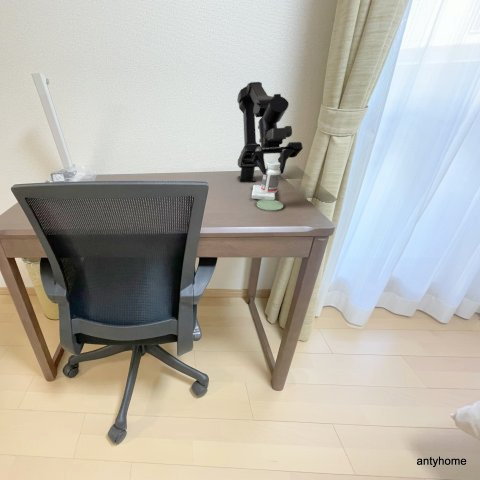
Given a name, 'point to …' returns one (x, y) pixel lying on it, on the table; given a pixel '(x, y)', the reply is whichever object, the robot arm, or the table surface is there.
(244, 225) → the table surface
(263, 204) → the coaster
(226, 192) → the table surface
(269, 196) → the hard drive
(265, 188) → the pill bottle
